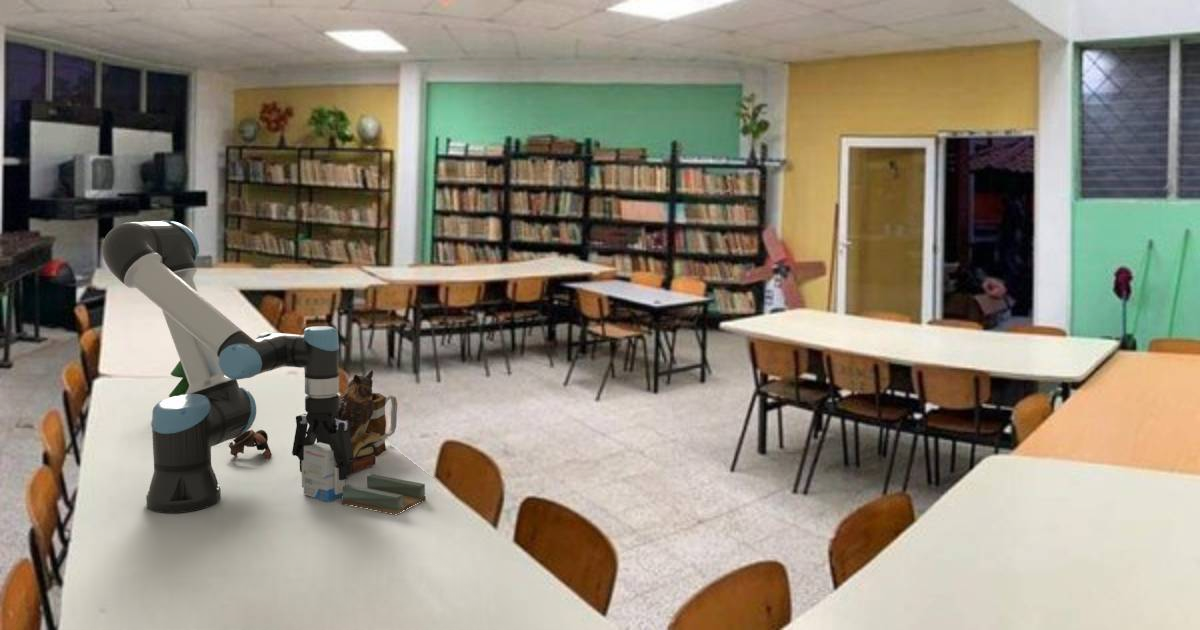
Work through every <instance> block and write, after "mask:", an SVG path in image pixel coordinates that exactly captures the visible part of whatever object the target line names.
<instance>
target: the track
mask: <svg viewBox="0 0 1200 630" xmlns="http://www.w3.org/2000/svg"><path fill="white" fill-rule="evenodd" d="M366 477H367V478H366V487H364V486H363V487H362V486H357V485H352V484H345V486H343V496H342V499H341V504H342V505H344V504H347V505H346V506H349V505H353V506H352V507H354V506H357V507H356V508H359V507H362V508H361V509H363V508H368V509H372V510H371V511H373V510H377V511H376V512H378V511H381V512H380V513H383V512H387V513H392V514H398V513H400V512H402V511H403V510H406V509H407V508H409V507H411V506H413V505H415V504H417V503H419V502H421V503H423V502H425V501H426V499H427V498H426V495H425V494H426V486H425V485H426V484H425V483H421V482H416V481H411V480H405V479H399V478H396V477H389V476H384V475H379V474H374V473H371V474H368V475H367V476H366ZM424 500H425V501H424ZM422 501H423V502H422ZM368 509H367V510H368ZM406 511H407V510H406ZM387 513H386V514H387ZM402 513H403V512H402ZM392 514H391V515H392ZM400 514H401V513H400ZM398 515H399V514H398Z"/></svg>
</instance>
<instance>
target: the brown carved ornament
mask: <svg viewBox="0 0 1200 630" xmlns="http://www.w3.org/2000/svg"><path fill="white" fill-rule="evenodd" d="M268 437H269V436H268V433H267V432H266V431H265V430H264V429H259V430H257V431H254V430H253V429H248V430H247V431H246V432H244V433H243V434H241V435H240V436H238V437H236V438H233V439H232V441H231V442H230V443H229V444H228V448H229V449H230V452H229V453H230V455H231V456H233V457H237V456H238V454H240V453H241V454H245V447H247V448H250V447H251V448H254V447H256V450H257V451H263V452H262V455H263V456H264V459H265V460H266V461H267V459H268V460H269V459H270V458H271V457H272V455H273V454H272V452H271V449H270V446H269V444H268Z"/></svg>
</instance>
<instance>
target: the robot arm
mask: <svg viewBox="0 0 1200 630" xmlns="http://www.w3.org/2000/svg"><path fill="white" fill-rule="evenodd" d="M199 246H200V245H199V241H198V239H197V237H196V235H195V234H194V233H193V231H192V230H191V229H190V228H189V227H187V226H186V225H184V224H182V223H180V222H177V221H170V220H156V221H141V222H140V221H130V222H124V223H120V224H118V225H116V226H114V227H113V228H112V229H110V230H109V232H108V233H107V234H106V235H105V238H104V239H103V242H102V248H101V249H102V250H101V251H102V257H103V260H104V262H105V265H106V266H107V268H108V269H109V271H110V272H111V273H112V274H113V276H114V277H116V279H118V280H119V281H120V282H121V284H123V285H125V286H126V287H127V288H129V289H135V288H136V289H137V290H138V291H139V292H140V293H142V294H143V295H144V296H145V297H147V299H149V300H150V301H151V302H152V303H153V304H155V305H156V306H157V307H158V308H160V309H161V310H162V313H163V316H164V319H165V322H166V325H167V328H168V330H169V334H170V336H171V338H172V341H173V344H174V347H175V349H176V352H177V354H178V355H177V356H178V357H179V361H181V363H182V366H183V369H184V372H185V374H186V377H187V380H188V383H189V388H188V390H187V392H186V394H183V395H180V396H173V397H169V396H168V397H167V398H165V399H162V400H160V401H159V402H157V403H156V404H155V405H154V407H153V409H152V412H151V413H152V414H151V416H152V417H151V418H152V419H151V423H150V424H151V425H150V426H151V431H152V449H153V450H152V452H153V455H152V456H153V475H152V477H151V481H150V485H149V490H148V491H147V493H146V499H145V500H146V507H147V508H148V509H149V510H151V511H153V512H158V513H167V514H168V513H169V514H170V513H171V514H173V513H174V514H175V513H176V514H177V513H187V512H194V511H198V510H202V509H206V508H208V507H210V506H213V505H215V504H217V503H218V502H219V501H220V500H221V498H222V497H221V486H220V484H219V483H218V482H219V481H218V479H217V476H216V473H215V471H214V468H213V466H212V447H215V446H217V445H219V444H222V443H225V442H227V441H229V440H234V439H235V438H236V437H238V436H240V435H241V434H243V433H244V432H246V431H249V430H250V429H251V427H252V426H253V424H254V422H255V420H256V418H257V403H256V401H255V397H254V395H252V393H251V392H250V391H248V390H246V388H244V387H242V386H239V384H238V380H244V379H251V378H253V377H255V376H257V375H261V374H263V373H267V372H269V371H270V372H271V371H273V370H277V369H280V368H284V367H287V368H289V367H290V368H303V369H304V394H305V397H304V411H305V412H306V413H302V414H299V415H296V416H295V423H296V426H295V432H294V439H293V444H292V445H293V446H292V451H291V454H292V456H293V457H297V458H298V460H299V471H300V473H301V488H302V489H304V446H308V445H312V444H314V443H316V442H317V436H318V434H321V435H324V437H325V439H326V440H328V442H329V445H330V448H331V450H332V451H334V458H335V460H336V463H337V466H335V467H334V489H335V494H336V495H338V494H340V493H342V492H343V486H345V485H346V480H347V478H348V476H347V465H349V464H351V463H354V461H355V460H354V454H353V449H352V444H351V438H350V433H349V426H350V422H349V421H348V420H347V421H341V420H339V418H338V415H337V413H338V410H339V396H340V395H339V392H340V375H339V373H340V371H339V369H340V368H339V361H340V360H339V359H340V357H339V355H340V353H339V352H340V351H339V349H340V343H339V332H338V329H336V328H335V327H333V326H327V325H325V326H323V325H322V326H320V325H317V326H315V325H314V326H309V327H306V328H305V329H304V330H303V334H294V333H282V332H277V331H273V332H262V333H260V334H258V336H257V337H256V338H255V339H253V338H252V337H250V336H249V335H248V334H247V333H246V332H245V331H243V330H242V328H240V327H239V326H237V325H236V324H235V323H234V322H232V321H231V320H230V319H229V318H228V317H227V316H226V315H224V314H223V313H222V312H221V311H219V310H218V309H217V308H216V307H215V306H214V305H212V303H210V302H209V301H208V300H206V299H205V298H204V297H203V296H202V295H201V294H200V293H198V289H197V286H196V284H195V281H194V276H195V275H196V273H197V271H198V269H197V266H196V262H197V260H198V254H200V248H199ZM336 426H337V427H336ZM332 432H333V434H331V433H332ZM330 434H331V435H330ZM341 459H342V461H341Z"/></svg>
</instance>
